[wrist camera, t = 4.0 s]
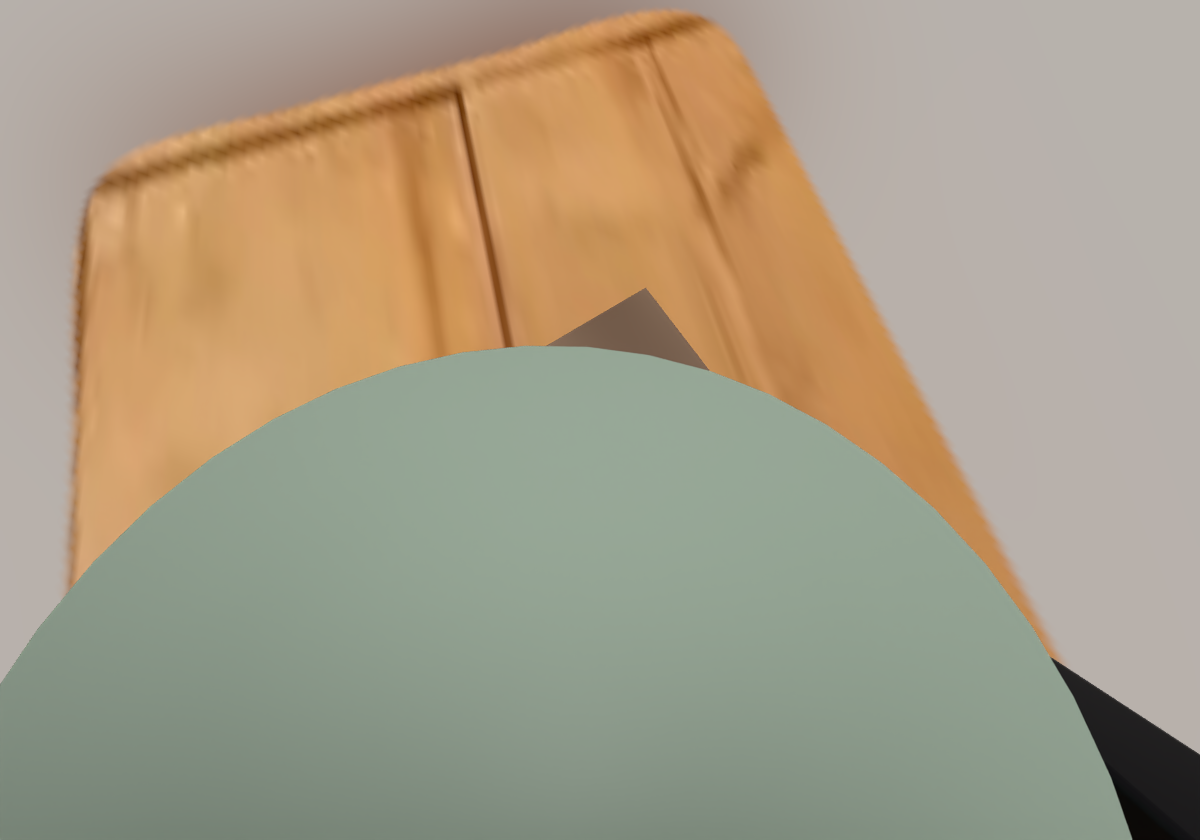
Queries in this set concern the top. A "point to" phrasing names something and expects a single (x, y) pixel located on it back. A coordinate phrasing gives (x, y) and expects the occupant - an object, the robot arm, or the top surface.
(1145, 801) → the robot arm
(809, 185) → the top surface
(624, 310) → the pocket block
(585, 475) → the peg
